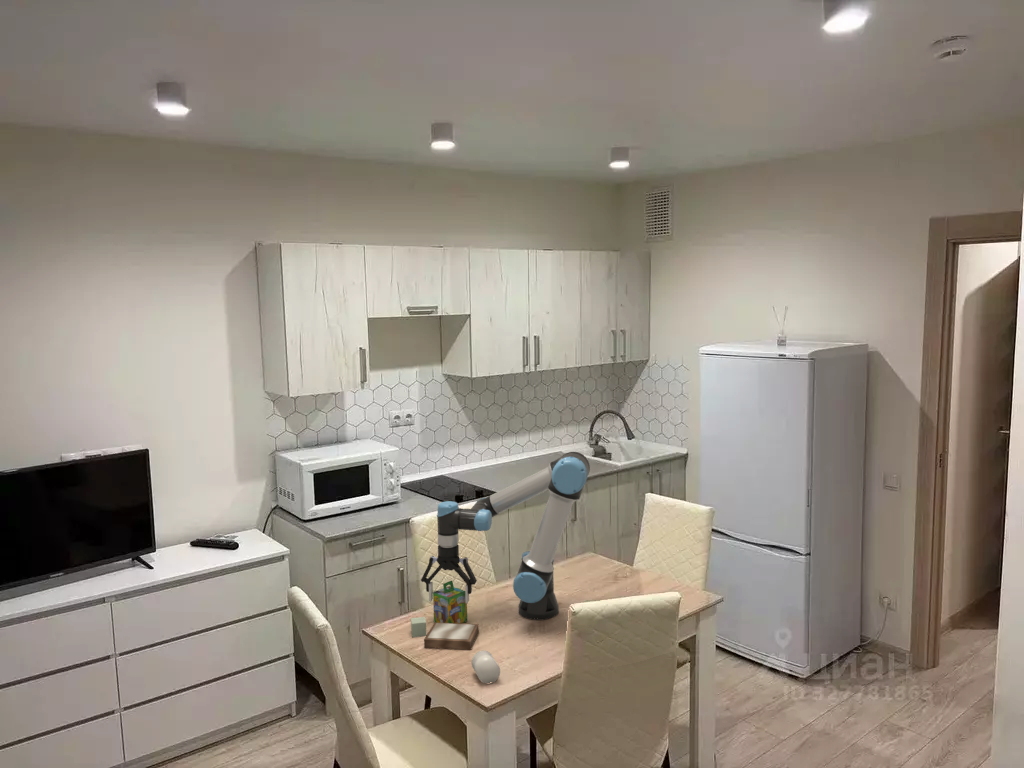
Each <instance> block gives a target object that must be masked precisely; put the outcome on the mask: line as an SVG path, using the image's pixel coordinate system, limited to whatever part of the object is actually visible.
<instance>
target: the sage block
mask: <svg viewBox="0 0 1024 768" xmlns="http://www.w3.org/2000/svg"><path fill="white" fill-rule="evenodd" d="M410 631H411V638H420V637H426V635H427V634H428V633H427V621H426V617H425V616H420V617H411V618H410Z"/></svg>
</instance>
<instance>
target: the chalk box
mask: <svg viewBox="0 0 1024 768" xmlns="http://www.w3.org/2000/svg"><path fill="white" fill-rule="evenodd" d="M442 585H443V588H441V589H438V590H435V591H433V599H432V601H433V623H434V622H436V623H461V624H465V623H466V622H468V604H466V600H465V590H463V589H461V588H458V587H456V586H455V587H454V581H453V580H449V581H447V582H444V583H443V584H442Z"/></svg>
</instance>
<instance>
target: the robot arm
mask: <svg viewBox="0 0 1024 768" xmlns="http://www.w3.org/2000/svg"><path fill="white" fill-rule="evenodd" d="M590 468H591V465H590V463H589V459H588V458H587V457H586V456H585V455H584V454H583V453H581V452H579V451H569V452H566V453H565V454H562V455H560V457H558V458H557V459H555V460H553V461H551V462H549V463H548V466H546V467H545V468H543V469H541V470H539V471H537V472H535V473H534V474H531V475H529V476H526V477H525V478H523V479H520V480H519V481H517V482H515V483H513V484H511V485H509V486H507V487H505V488H502V489H501V490H499V491H496V492H495V493H493V494H490V495H488V496H487V497H483V498H480V499H479V500H476V502H475V504H474V505H473V506H472V507H471V508H459V504H458V502H456V501H453V500H452V501H451V500H450V501H449V500H447V501H442V502H440V503H439V504H438V505H437V515H436V517H437V545H438V546H437V557H436V556H434V555H431V556H430V557H429V560H428V565H427V567H426V569H425V571H424V572H423V575H422V577H421V579H420V581H421V582H422V583H425V591H426V592H427V593H428V602H432V601H433V592H434V591H433V590H434V587H433V585H434V583H433V581H432V580H433V579H434V578H435V577H436V576H437V575H438V574H439V572H440V571H441V570H443V571H453V570H454V572H456V573H457V574H458V575H459V577H460V578H461V579H462V580H463V581H464V583H465V588H464V589H465V590H464V591H465V600H466V604H467V605H468V604H469V602H470V595H471V594H472V591H473V590H472V588H473V587H472V585H476V583H477V582H478V580H477V578H476V576H475V574H474V572H473V570H472V568H471V566H470V563H469V561H468V557H467V556H465V557H464V558H463V557H462V558H461V557H460V551H459V549H460V546H459V542H460V541H459V537H460V536H459V530H460V531H462V530H463V531H474V532H475V531H476V532H477V531H478V532H483V531H484V532H486V531H489V530H490V529H491V528H492V527H491V526H492V523H493V522H492V521H493V520H492V519H493V517H496V516H497V515H499V514H502V513H503V512H505V511H507V510H509V509H512V508H514V507H515V506H518V505H519V504H522V503H524V502H526V501H528V500H530V499H532V498H535V497H537V496H539V495H541V494H543V493H545V492H547V491H548V492H549V496H548V499H547V503H546V505H545V507H544V511H543V512H542V516H541V519H540V522H539V525H538V528H537V530H536V533H535V536H534V538H533V541H532V544H531V547H530V550H527V551H524V552H523V553H522V554H521V562H520V565H519V568H518V571H517V573H516V576H515V577H514V579H513V583H512V590H513V592H514V594H515V596H516V597H517V598H518V599H519V603H518V614H519V616H521V617H523V618H525V619H529V620H534V621H535V620H536V621H540V620H547V619H548V620H549V619H552V618H554V617H556V616H557V615H558V614H559V611H560V609H559V607H560V606H559V603H558V600H557V596H556V593H555V591H554V590H555V589H554V588H555V587H554V582H555V581H554V578H555V577H554V570H555V567H554V562H555V560H554V558H555V555H556V551H557V549H558V547H559V544H560V541H561V539H562V535H563V532H564V530H565V528H566V527H565V526H566V524H567V521H568V519H569V516H570V514H571V509H572V507H573V505H574V503H575V502H577V501H579V500H580V498H581V495H582V494H583V493H582V492H583V490H584V487H585V485H586V483H587V480H588V477H589V475H590V470H591V469H590ZM436 562H437V564H438V567H436V569H434V571H433V572H432V573H431V574H430V575H429V573H430V571H431V569H432V567H433V565H434V564H435V563H436ZM460 563H461V565H462V566H463V568H464V569H465V571H464V570H463V569H462V568H461V566H460ZM428 575H429V577H428Z"/></svg>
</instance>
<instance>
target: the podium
mask: <svg viewBox="0 0 1024 768" xmlns="http://www.w3.org/2000/svg"><path fill="white" fill-rule="evenodd" d="M479 631H480V629H479V624H478V623H462V624H461V623H436V622H434V621H433V624H432V626H431V627H430V629H429V631H428V632H427V633H426V634H427V635H426V636H424V639H423V647H424V649H439V650H440V649H441V650H442V649H443V650H461V651H471V650H472V649H473V646H474V644H475V641H476V639H477V638H478V635H479V634H480V632H479Z"/></svg>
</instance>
